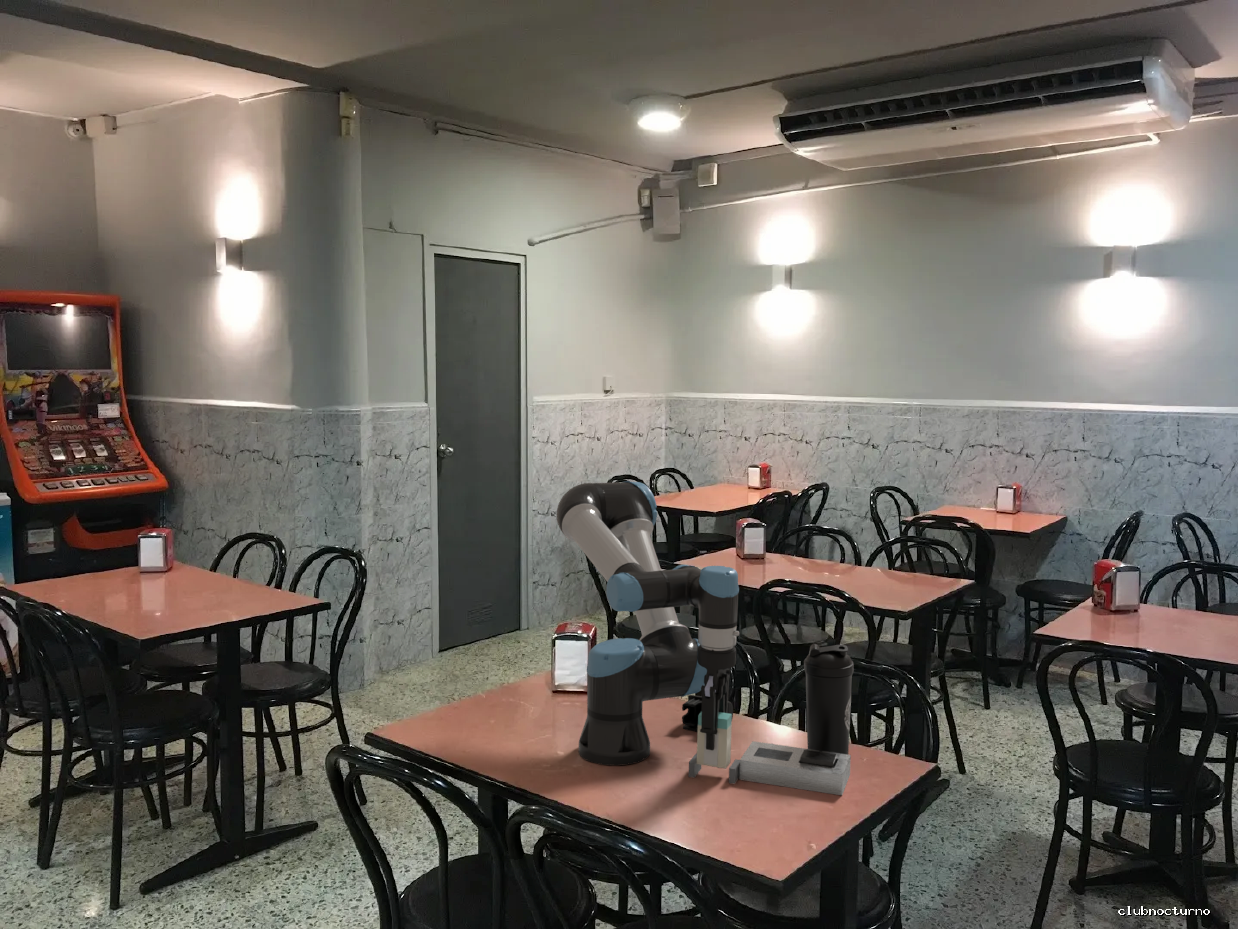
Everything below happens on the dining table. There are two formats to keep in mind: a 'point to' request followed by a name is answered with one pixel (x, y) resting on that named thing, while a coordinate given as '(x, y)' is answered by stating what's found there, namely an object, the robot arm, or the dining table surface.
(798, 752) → the panel
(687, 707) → the end cap
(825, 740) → the water bottle
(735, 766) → the pair of grey blocks
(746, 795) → the dining table surface
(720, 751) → the plug
